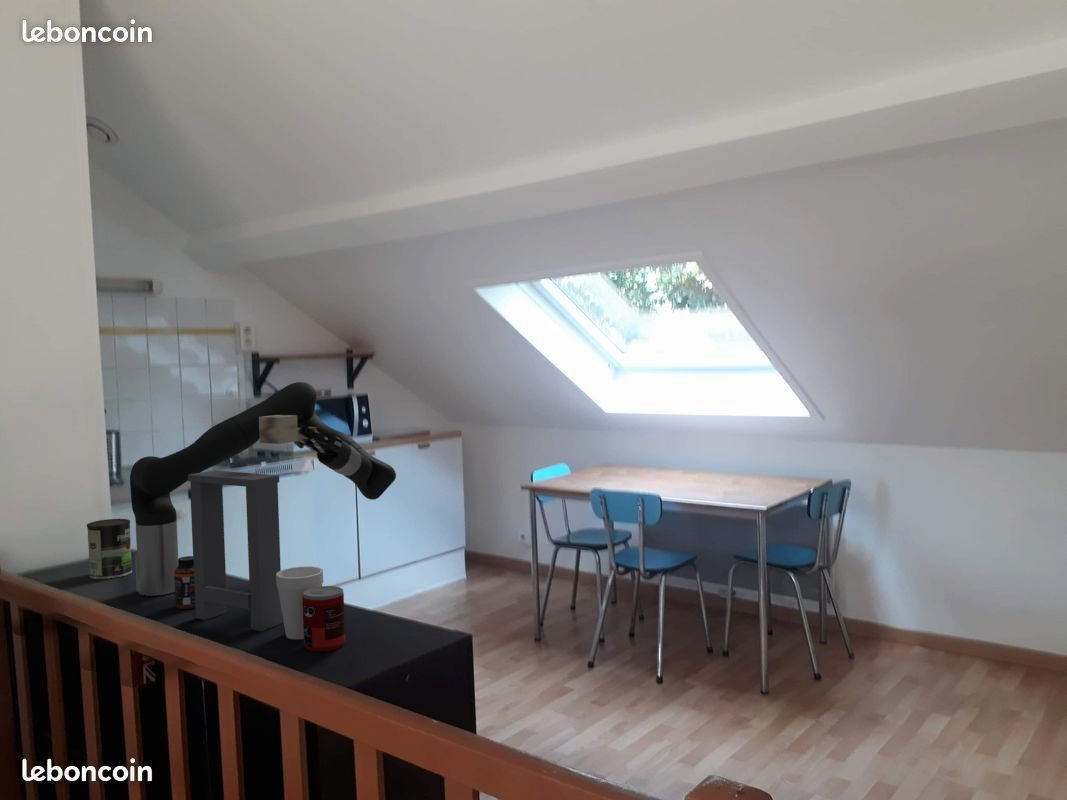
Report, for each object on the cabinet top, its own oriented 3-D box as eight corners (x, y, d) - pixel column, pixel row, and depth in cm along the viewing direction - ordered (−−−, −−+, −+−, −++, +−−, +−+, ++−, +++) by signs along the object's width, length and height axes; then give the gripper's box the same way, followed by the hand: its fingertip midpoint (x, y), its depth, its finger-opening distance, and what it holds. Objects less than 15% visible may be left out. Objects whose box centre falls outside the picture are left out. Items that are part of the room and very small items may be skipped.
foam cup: (282, 644, 167) (280, 580, 166) (274, 631, 175) (271, 570, 174) (330, 636, 171) (328, 574, 171) (319, 624, 180) (317, 564, 179)
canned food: (307, 639, 170) (306, 586, 169) (347, 638, 171) (346, 584, 170) (300, 653, 162) (298, 597, 162) (342, 651, 163) (340, 595, 162)
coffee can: (139, 569, 229) (137, 518, 228) (120, 579, 218) (118, 526, 218) (102, 569, 229) (99, 518, 228) (81, 580, 218) (78, 526, 218)
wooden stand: (194, 618, 185) (188, 474, 183) (219, 609, 191) (214, 470, 189) (259, 632, 175) (253, 480, 173) (284, 622, 181) (279, 475, 179)
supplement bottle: (193, 610, 191) (191, 561, 190) (169, 609, 192) (167, 560, 191) (208, 602, 197) (206, 555, 196) (185, 601, 198) (183, 554, 197)
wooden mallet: (259, 442, 193) (258, 416, 192) (303, 436, 205) (302, 412, 205) (278, 443, 190) (277, 417, 189) (322, 437, 202) (321, 412, 202)
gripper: (323, 441, 217) (279, 413, 203) (365, 444, 210) (323, 414, 196) (314, 468, 214) (268, 441, 200) (356, 471, 207) (312, 443, 194)
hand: (295, 428), depth 198 cm, fingers closed on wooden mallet, 3 cm apart
